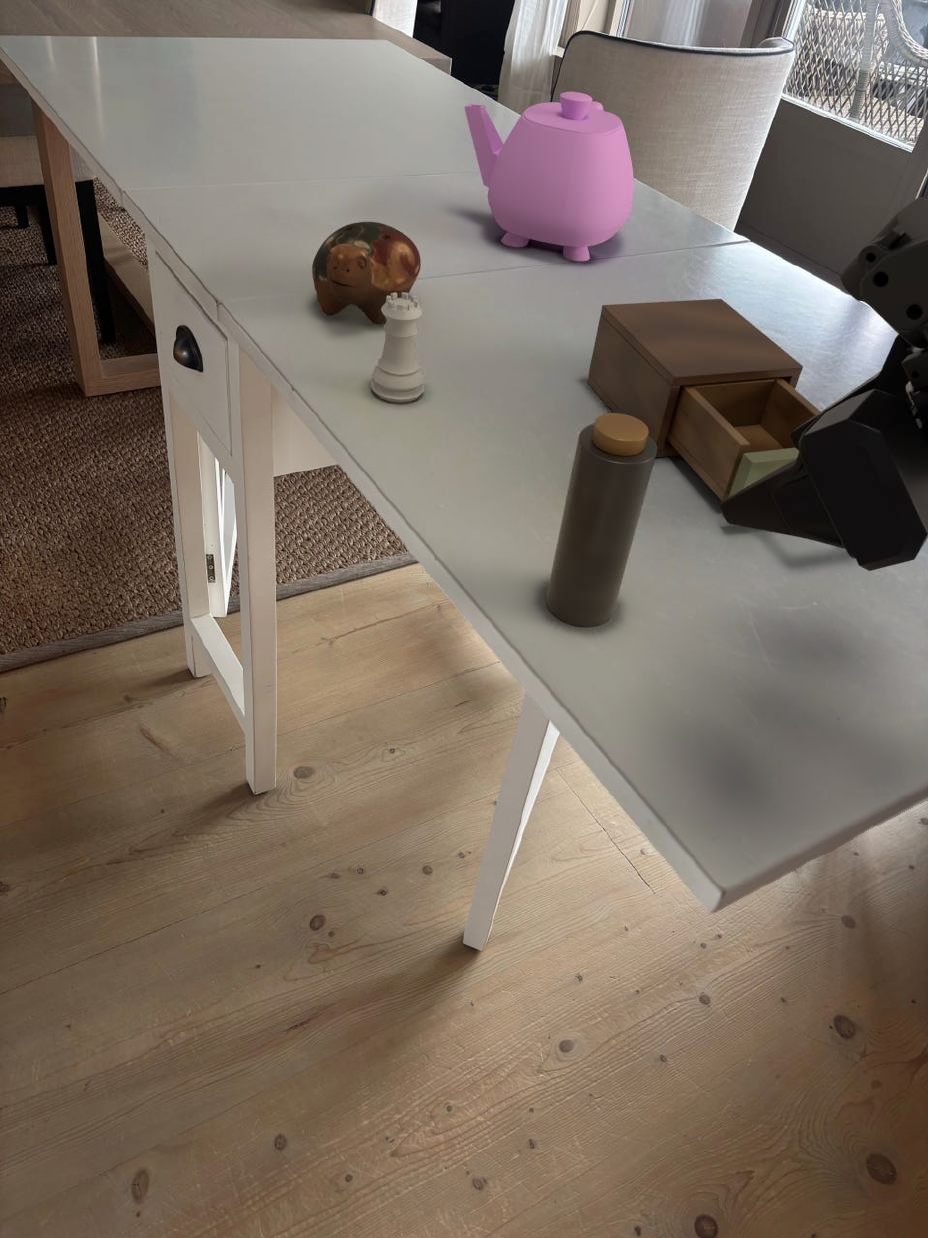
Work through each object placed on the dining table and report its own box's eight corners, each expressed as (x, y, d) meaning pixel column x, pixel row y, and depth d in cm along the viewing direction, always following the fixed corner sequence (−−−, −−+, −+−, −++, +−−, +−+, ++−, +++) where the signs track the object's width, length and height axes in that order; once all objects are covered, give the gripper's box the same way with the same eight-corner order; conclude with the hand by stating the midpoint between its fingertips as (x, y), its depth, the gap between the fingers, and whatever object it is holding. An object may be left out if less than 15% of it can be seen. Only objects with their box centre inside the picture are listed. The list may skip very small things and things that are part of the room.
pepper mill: (627, 612, 60) (678, 435, 52) (576, 635, 58) (619, 455, 49) (583, 574, 63) (623, 399, 54) (532, 595, 61) (566, 416, 52)
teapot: (487, 190, 119) (502, 55, 109) (641, 223, 116) (670, 87, 106) (432, 238, 105) (443, 88, 95) (604, 278, 101) (635, 126, 91)
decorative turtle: (294, 334, 84) (289, 242, 80) (339, 282, 96) (337, 199, 92) (399, 346, 84) (401, 254, 79) (432, 292, 96) (434, 209, 91)
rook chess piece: (383, 408, 76) (387, 314, 71) (362, 382, 79) (364, 290, 74) (433, 400, 78) (440, 307, 73) (410, 375, 81) (416, 284, 76)
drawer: (889, 547, 67) (920, 484, 63) (766, 566, 64) (791, 502, 60) (765, 429, 78) (786, 371, 74) (655, 441, 75) (671, 380, 71)
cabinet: (775, 444, 78) (803, 366, 73) (652, 458, 75) (674, 376, 70) (700, 372, 87) (721, 298, 82) (586, 381, 83) (602, 304, 78)
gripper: (1074, 114, 41) (762, 282, 53) (968, 206, 29) (595, 398, 41) (1165, 344, 43) (846, 457, 55) (1101, 518, 31) (711, 616, 43)
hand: (761, 475), depth 48 cm, fingers open, 9 cm apart
